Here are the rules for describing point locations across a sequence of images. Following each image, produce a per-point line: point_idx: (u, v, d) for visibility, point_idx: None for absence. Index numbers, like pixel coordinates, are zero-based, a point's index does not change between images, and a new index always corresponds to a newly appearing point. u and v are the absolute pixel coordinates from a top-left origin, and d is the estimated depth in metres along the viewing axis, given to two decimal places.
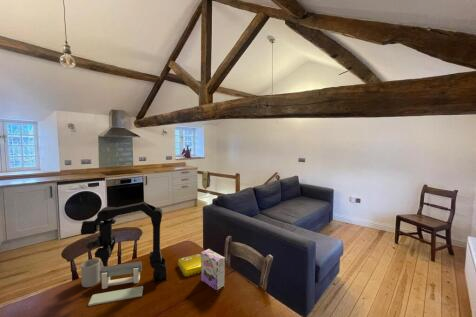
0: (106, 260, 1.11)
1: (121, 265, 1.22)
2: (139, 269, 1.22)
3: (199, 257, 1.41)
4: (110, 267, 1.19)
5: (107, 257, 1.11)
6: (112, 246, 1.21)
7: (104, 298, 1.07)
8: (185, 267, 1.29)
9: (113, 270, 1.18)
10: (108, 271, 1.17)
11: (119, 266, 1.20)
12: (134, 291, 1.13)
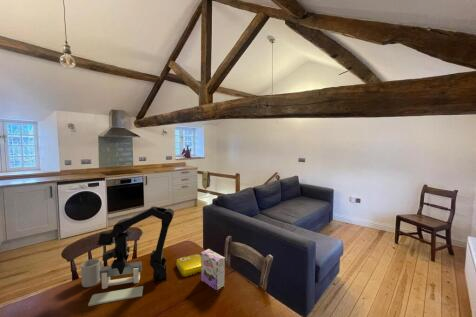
0: (122, 269, 1.18)
1: None
2: (139, 269, 1.22)
3: (197, 257, 1.41)
4: (110, 267, 1.19)
5: None
6: (125, 259, 1.24)
7: (104, 298, 1.07)
8: (183, 267, 1.29)
9: (113, 270, 1.18)
10: (108, 271, 1.17)
11: None
12: (134, 291, 1.13)
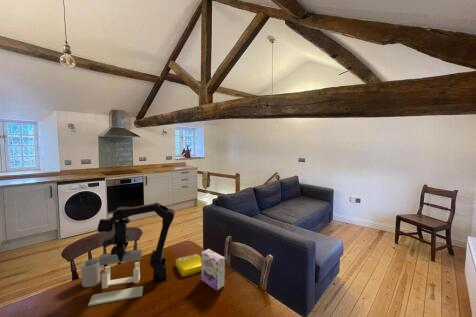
0: (122, 255, 1.18)
1: None
2: (139, 257, 1.21)
3: (196, 257, 1.41)
4: (110, 254, 1.19)
5: (123, 253, 1.17)
6: None
7: (104, 298, 1.07)
8: (182, 267, 1.29)
9: (113, 258, 1.17)
10: (108, 258, 1.17)
11: None
12: (134, 291, 1.13)
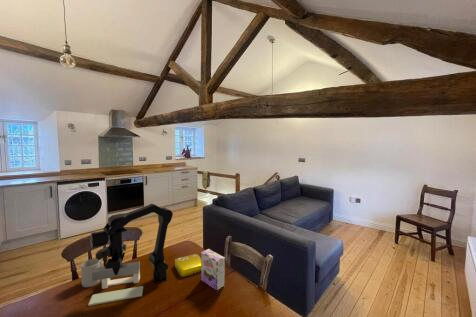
0: (117, 269, 1.06)
1: None
2: (136, 270, 1.10)
3: (196, 257, 1.41)
4: (104, 268, 1.08)
5: None
6: (121, 258, 1.12)
7: (104, 298, 1.07)
8: (182, 267, 1.29)
9: (107, 272, 1.06)
10: (102, 273, 1.06)
11: None
12: (134, 291, 1.13)
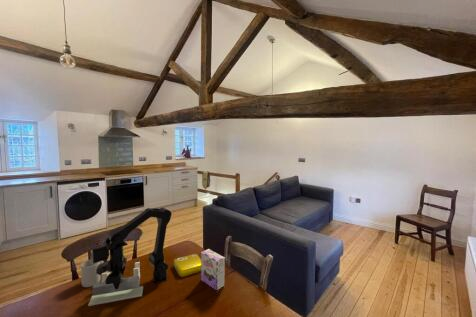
0: (118, 283, 1.07)
1: None
2: (136, 285, 1.11)
3: (195, 257, 1.41)
4: (104, 283, 1.08)
5: None
6: (122, 272, 1.12)
7: (104, 298, 1.07)
8: (181, 267, 1.29)
9: (108, 287, 1.07)
10: (102, 288, 1.06)
11: None
12: (134, 291, 1.13)
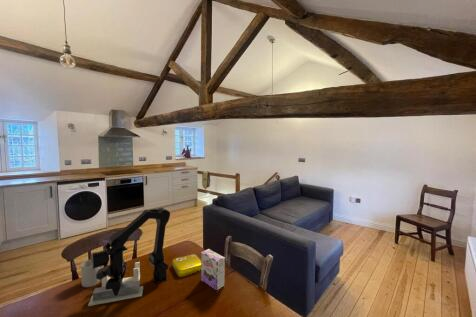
0: (117, 290, 1.06)
1: None
2: (136, 290, 1.11)
3: (194, 257, 1.41)
4: (104, 288, 1.08)
5: (119, 287, 1.05)
6: (122, 275, 1.14)
7: None
8: (179, 267, 1.29)
9: (108, 292, 1.07)
10: (102, 293, 1.06)
11: None
12: None
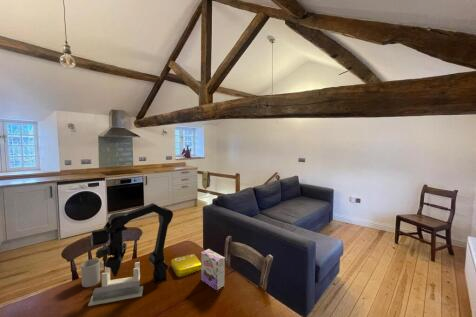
0: (117, 270, 1.04)
1: (116, 285, 1.11)
2: (136, 290, 1.11)
3: (192, 257, 1.40)
4: (104, 288, 1.08)
5: (118, 267, 1.04)
6: (122, 254, 1.14)
7: None
8: (178, 267, 1.29)
9: (108, 292, 1.07)
10: (102, 293, 1.06)
11: (114, 287, 1.09)
12: None
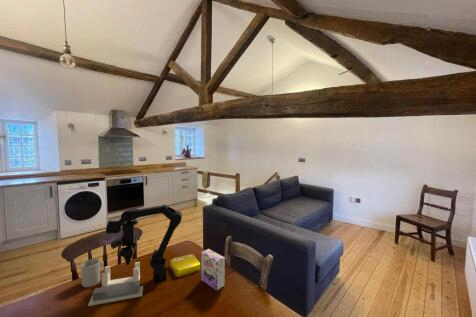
0: (129, 259, 1.16)
1: (116, 285, 1.11)
2: (136, 290, 1.11)
3: (191, 257, 1.40)
4: (104, 288, 1.08)
5: (130, 256, 1.15)
6: (133, 246, 1.26)
7: None
8: (177, 267, 1.29)
9: (108, 292, 1.07)
10: (102, 293, 1.06)
11: (114, 287, 1.09)
12: None
